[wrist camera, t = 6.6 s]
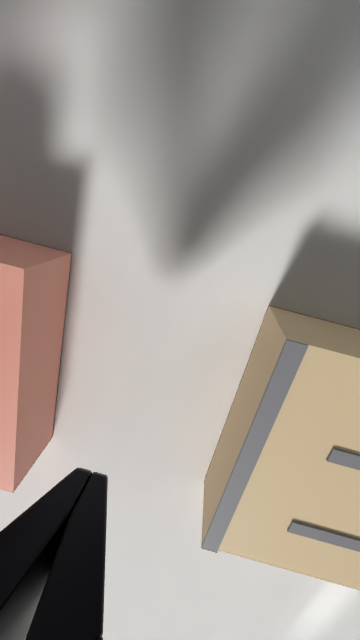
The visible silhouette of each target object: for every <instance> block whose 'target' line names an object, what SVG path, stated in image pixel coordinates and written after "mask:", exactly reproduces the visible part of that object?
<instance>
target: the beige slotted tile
mask: <svg viewBox="0 0 360 640" xmlns="http://www.w3.org/2000/svg"><path fill="white" fill-rule="evenodd" d="M201 548H202V549H205V550H209V551H212V552H216V553H217V551H222V552H226V553H229V554H233V555H236V556H240V557H243V558H247V559H250V560H254V561H258V562H261V563H265V564H268V565H272V566H275V567H279V568H282V569H286V570H290V571H293V572H297V573H300V574H304V575H307V576H311V577H314V578H318V579H322V580H325V581H329V582H332V583H336V584H339V585H343V586H346V587H350V588H354V589H357V590H360V330H359V329H355V328H351V327H347V326H344V325H340V324H336V323H332V322H328V321H325V320H321V319H317V318H313V317H310V316H306V315H302V314H298V313H294V312H291V311H287V310H283V309H279V308H276V307H272V306H269V307H268V309H267V312H266V315H265V318H264V320H263V323H262V326H261V328H260V331H259V334H258V336H257V339H256V342H255V345H254V347H253V350H252V353H251V355H250V358H249V361H248V364H247V366H246V369H245V372H244V374H243V377H242V380H241V383H240V385H239V388H238V391H237V393H236V396H235V399H234V401H233V404H232V407H231V410H230V412H229V415H228V418H227V420H226V423H225V426H224V429H223V431H222V434H221V437H220V439H219V442H218V445H217V447H216V450H215V453H214V456H213V458H212V461H211V464H210V466H209V469H208V472H207V475H206V477H205V480H204V501H203V524H202V547H201Z"/></svg>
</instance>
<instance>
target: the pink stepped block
mask: <svg viewBox="0 0 360 640" xmlns="http://www.w3.org/2000/svg"><path fill="white" fill-rule="evenodd" d="M71 255H72V254H71V253H68V252H64V251H60V250H56V249H52V248H49V247H45V246H41V245H37V244H33V243H30V242H26V241H22V240H18V239H15V238H11V237H7V236H3V235H0V489H2V490H5V491H9V492H12V493H13V492H14V491H15V490H16V488H17V487H18V485H19V484H20V482H21V481H22V480H23V478H24V477H25V475H26V474H27V473H28V471H29V470H30V468H31V467H32V466H33V464H34V463H35V461H36V460H37V459H38V457H39V456H40V454H41V453H42V451H43V450H44V449H45V447H46V446H47V444H48V443H49V442H50V440H51V439H52V434H53V424H54V415H55V406H56V396H57V387H58V377H59V368H60V358H61V349H62V340H63V330H64V321H65V311H66V302H67V292H68V283H69V274H70V264H71Z"/></svg>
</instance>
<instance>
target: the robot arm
mask: <svg viewBox="0 0 360 640" xmlns="http://www.w3.org/2000/svg"><path fill="white" fill-rule="evenodd" d="M107 484H108V477H107V475H104V474H101V473H97V472H93V473H92V472H91V471H90V470H87V469H83V468H76V469H75V470H74V471H72V472H71V473H70V474H69V475H68V476H66V477H65V478H64V479H63V480H62V481H60V482H59V483H58V484H57V485H56V486H54V487H53V488H52V489H51V490H50V491H49V492H47V493H46V494H45V495H44V496H43V497H41V498H40V499H39V500H38V501H37V502H35V503H34V504H33V505H32V506H31V507H29V508H28V509H27V510H26V511H25V512H23V513H22V514H21V515H20V516H19V517H17V518H16V519H15V520H14V521H13V522H11V523H10V524H9V525H8V526H7V527H5V528H4V529H3V530H2V531H1V532H0V640H103V638H102V634H103V613H104V581H105V549H106V517H107ZM25 638H26V639H25Z"/></svg>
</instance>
